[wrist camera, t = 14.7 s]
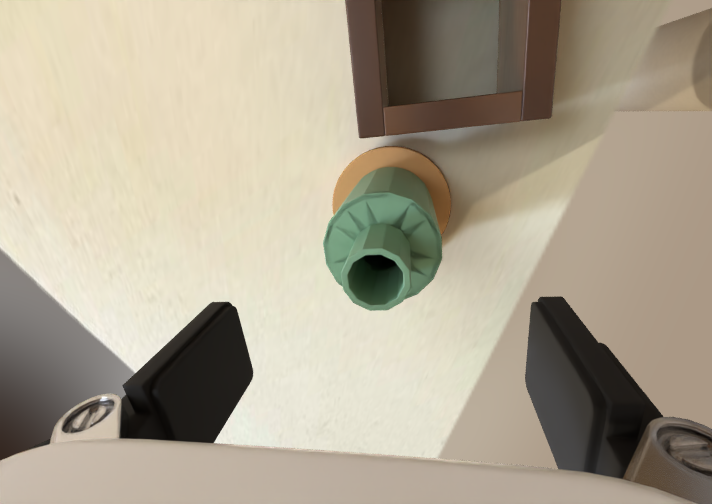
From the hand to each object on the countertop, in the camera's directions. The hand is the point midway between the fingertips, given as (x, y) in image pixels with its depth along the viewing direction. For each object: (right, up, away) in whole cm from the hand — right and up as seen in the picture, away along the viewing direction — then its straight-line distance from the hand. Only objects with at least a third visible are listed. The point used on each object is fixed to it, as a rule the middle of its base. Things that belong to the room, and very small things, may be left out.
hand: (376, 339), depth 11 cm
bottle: (+2, +6, +16) cm, 17 cm away
